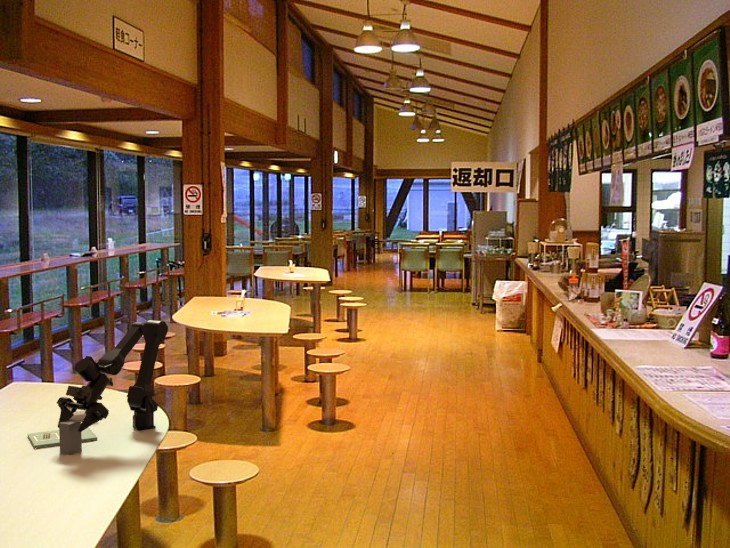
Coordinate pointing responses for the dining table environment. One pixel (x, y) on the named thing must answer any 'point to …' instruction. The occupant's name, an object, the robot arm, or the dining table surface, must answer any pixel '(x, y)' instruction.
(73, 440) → the plug block
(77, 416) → the beige bar with post
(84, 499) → the dining table surface
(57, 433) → the board
